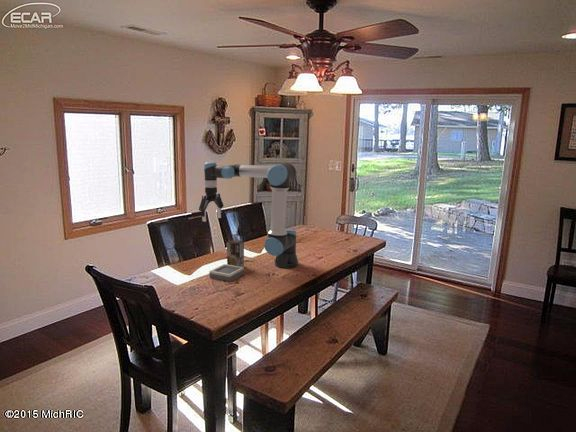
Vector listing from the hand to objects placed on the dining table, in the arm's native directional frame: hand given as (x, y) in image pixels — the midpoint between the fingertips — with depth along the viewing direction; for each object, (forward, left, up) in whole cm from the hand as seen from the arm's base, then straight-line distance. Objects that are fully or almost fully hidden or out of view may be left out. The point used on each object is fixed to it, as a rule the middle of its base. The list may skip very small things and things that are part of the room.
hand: (211, 219), depth 266 cm
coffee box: (-21, +5, -27) cm, 35 cm away
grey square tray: (-25, +21, -27) cm, 42 cm away
